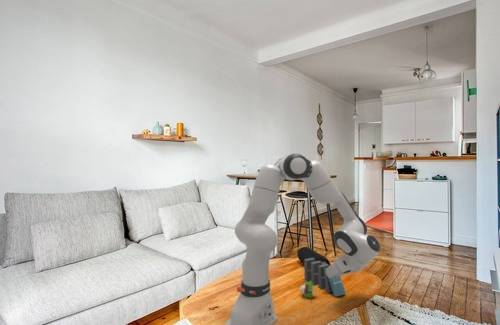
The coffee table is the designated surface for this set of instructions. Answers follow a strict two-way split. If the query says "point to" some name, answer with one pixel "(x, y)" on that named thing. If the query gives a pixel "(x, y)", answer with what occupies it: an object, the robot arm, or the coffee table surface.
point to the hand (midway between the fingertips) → (337, 276)
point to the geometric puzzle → (307, 289)
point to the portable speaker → (311, 255)
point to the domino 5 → (337, 286)
